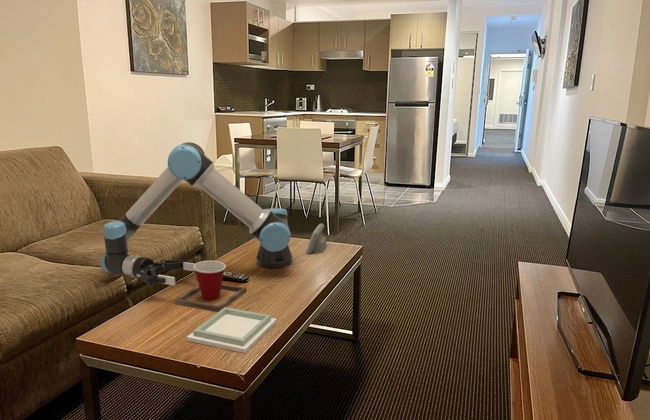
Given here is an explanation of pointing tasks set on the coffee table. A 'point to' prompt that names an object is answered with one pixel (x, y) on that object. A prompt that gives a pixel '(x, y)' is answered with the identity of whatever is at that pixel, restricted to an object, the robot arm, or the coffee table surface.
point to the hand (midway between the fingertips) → (187, 274)
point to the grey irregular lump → (317, 241)
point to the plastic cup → (209, 278)
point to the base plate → (233, 329)
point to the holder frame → (183, 301)
